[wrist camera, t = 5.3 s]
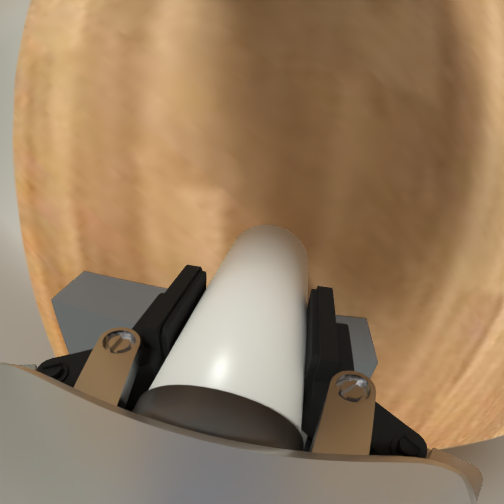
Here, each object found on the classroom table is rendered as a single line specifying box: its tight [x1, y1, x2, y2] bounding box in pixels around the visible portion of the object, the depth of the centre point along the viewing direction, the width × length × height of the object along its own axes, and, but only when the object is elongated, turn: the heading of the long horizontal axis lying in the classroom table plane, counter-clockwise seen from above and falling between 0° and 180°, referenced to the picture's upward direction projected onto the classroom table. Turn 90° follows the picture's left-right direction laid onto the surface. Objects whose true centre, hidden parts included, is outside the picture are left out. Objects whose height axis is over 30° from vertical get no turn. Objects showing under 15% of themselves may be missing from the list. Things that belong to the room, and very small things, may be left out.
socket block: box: [51, 271, 378, 442], centre depth 22 cm, size 22×14×4 cm, turn 85°
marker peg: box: [132, 224, 308, 451], centre depth 10 cm, size 4×4×12 cm
